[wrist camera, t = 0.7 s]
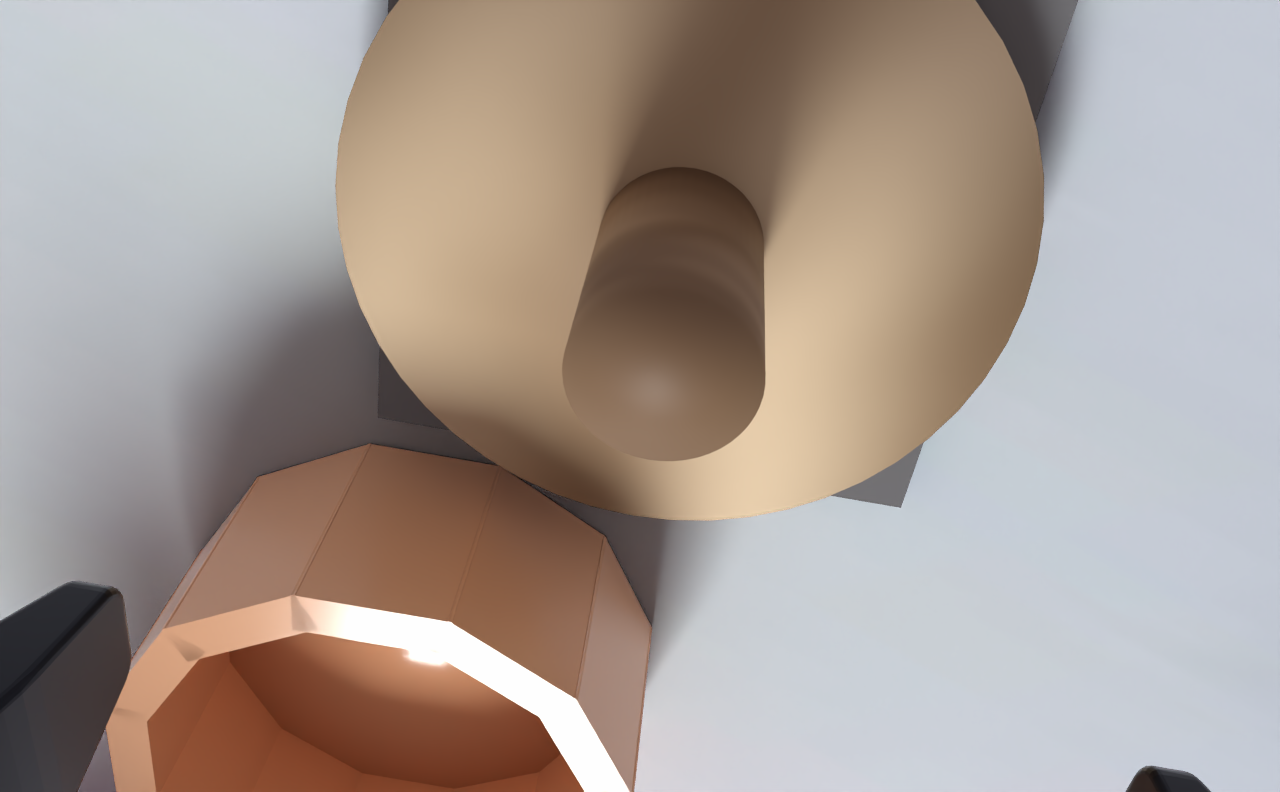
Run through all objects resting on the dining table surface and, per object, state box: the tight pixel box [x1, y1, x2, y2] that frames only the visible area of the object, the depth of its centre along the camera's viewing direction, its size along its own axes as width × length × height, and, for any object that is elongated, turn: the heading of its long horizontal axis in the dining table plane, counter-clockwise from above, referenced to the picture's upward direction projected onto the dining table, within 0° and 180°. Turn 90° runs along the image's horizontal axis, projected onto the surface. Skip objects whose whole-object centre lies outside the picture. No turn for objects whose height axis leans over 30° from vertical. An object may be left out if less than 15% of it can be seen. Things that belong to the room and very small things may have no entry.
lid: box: [336, 0, 1044, 521], centre depth 17 cm, size 11×11×5 cm
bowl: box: [106, 443, 652, 792], centre depth 23 cm, size 10×10×4 cm
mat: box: [378, 0, 1078, 508], centre depth 19 cm, size 10×10×1 cm
